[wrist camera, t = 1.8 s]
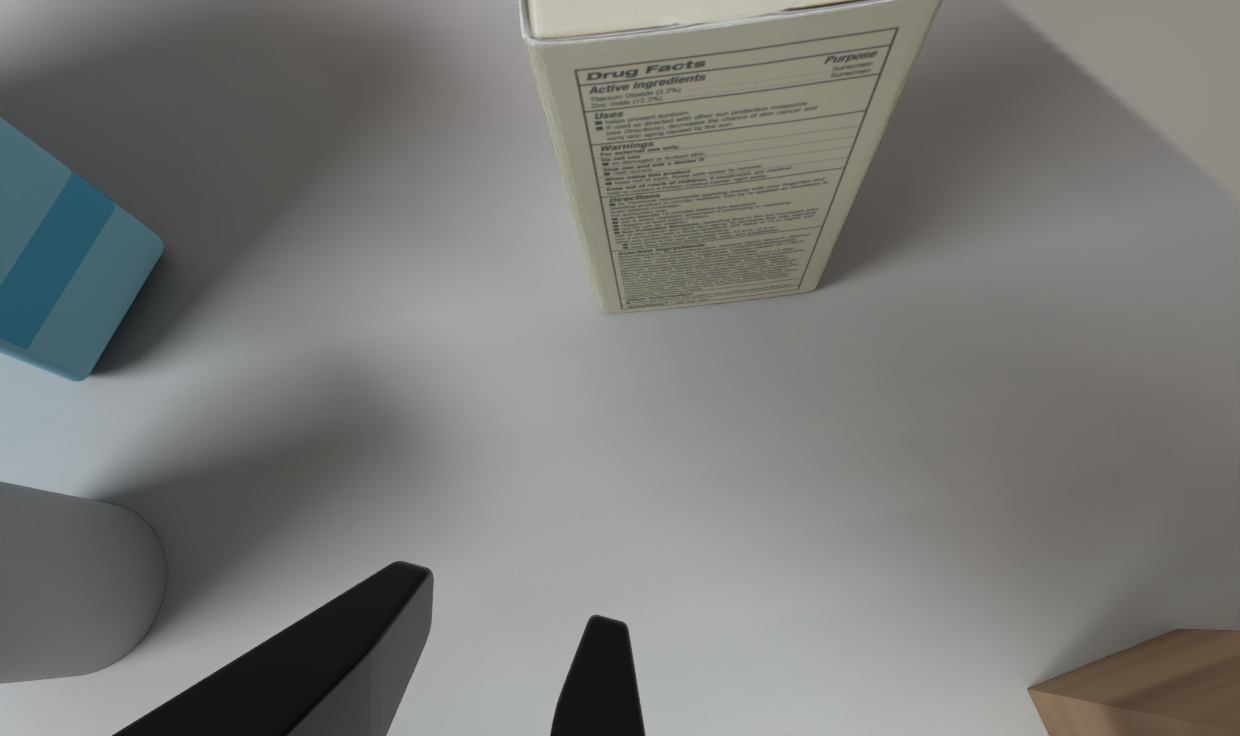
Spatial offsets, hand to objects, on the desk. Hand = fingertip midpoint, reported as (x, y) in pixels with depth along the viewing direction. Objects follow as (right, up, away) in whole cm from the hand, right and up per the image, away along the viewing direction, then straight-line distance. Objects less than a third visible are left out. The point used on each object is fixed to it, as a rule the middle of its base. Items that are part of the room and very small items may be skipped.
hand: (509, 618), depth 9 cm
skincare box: (+3, +6, +15) cm, 17 cm away
